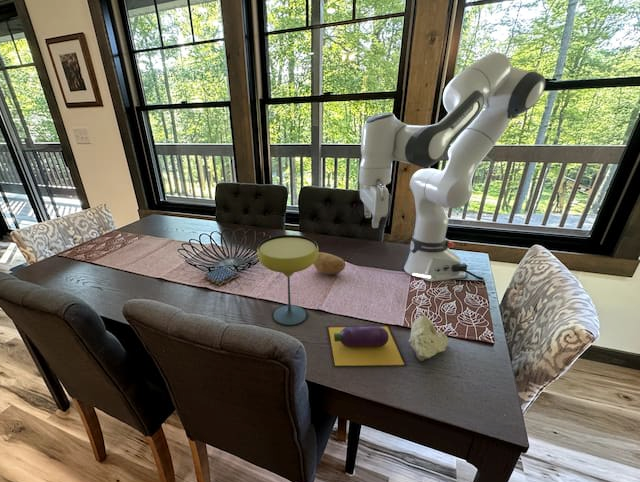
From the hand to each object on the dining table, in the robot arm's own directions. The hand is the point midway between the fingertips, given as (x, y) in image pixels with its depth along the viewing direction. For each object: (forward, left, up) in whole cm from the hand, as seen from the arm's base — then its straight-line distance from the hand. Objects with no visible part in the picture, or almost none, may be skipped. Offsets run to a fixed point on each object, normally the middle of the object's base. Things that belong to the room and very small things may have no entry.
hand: (371, 222), depth 97 cm
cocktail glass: (+26, +9, -29) cm, 40 cm away
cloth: (+5, +24, -29) cm, 37 cm away
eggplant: (+5, +24, -28) cm, 37 cm away
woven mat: (+54, -18, -29) cm, 64 cm away
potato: (+10, -20, -29) cm, 37 cm away
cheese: (-11, +29, -29) cm, 42 cm away
